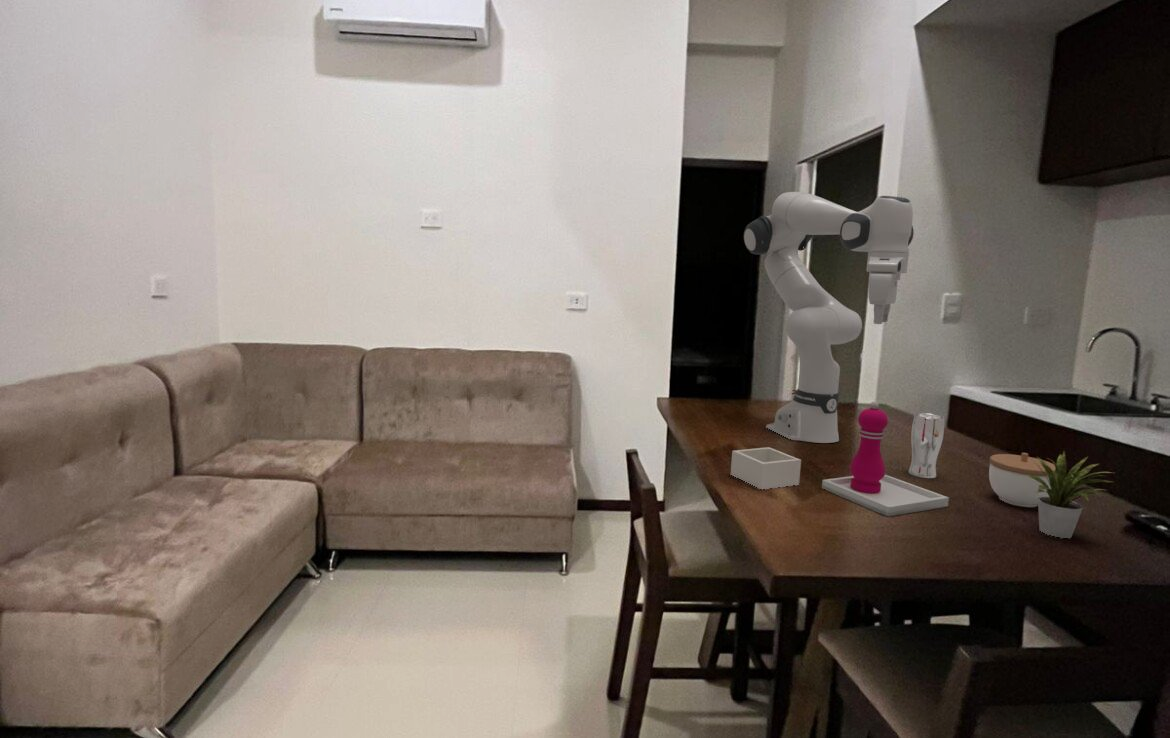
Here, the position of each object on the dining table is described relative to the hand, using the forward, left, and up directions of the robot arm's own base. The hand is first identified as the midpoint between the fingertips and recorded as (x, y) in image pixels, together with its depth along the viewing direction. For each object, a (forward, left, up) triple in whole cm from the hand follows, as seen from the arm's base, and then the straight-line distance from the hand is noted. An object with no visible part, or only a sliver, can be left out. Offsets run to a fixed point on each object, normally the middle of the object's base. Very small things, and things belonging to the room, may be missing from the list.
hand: (880, 323), depth 157 cm
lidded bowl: (+28, +16, -37) cm, 49 cm away
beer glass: (+7, +12, -37) cm, 40 cm away
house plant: (+43, +3, -37) cm, 57 cm away
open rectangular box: (-2, -30, -37) cm, 48 cm away
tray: (+16, -12, -37) cm, 42 cm away
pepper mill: (+12, -13, -36) cm, 41 cm away
